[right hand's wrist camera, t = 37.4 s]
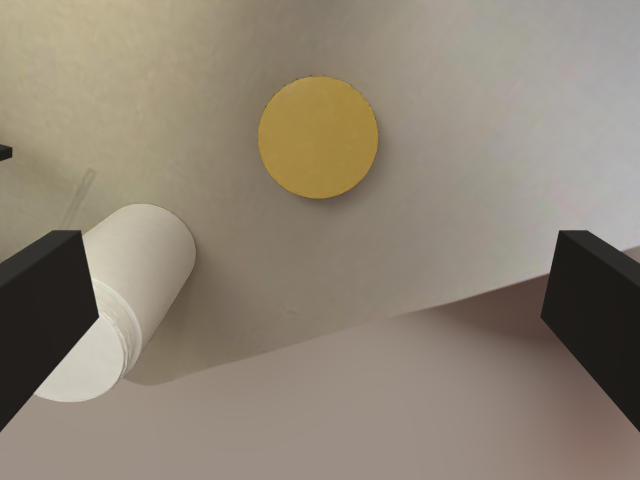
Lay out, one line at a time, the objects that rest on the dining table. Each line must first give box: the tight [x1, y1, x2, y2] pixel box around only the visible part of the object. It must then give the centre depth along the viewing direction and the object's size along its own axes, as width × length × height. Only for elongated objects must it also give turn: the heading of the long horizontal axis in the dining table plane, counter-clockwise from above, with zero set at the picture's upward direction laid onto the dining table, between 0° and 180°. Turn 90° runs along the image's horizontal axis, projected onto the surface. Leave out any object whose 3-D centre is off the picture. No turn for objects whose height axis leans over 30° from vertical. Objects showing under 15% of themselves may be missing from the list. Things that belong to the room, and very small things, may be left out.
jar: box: [34, 204, 196, 402], centre depth 34 cm, size 9×9×15 cm
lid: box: [258, 75, 378, 199], centre depth 36 cm, size 10×10×2 cm
